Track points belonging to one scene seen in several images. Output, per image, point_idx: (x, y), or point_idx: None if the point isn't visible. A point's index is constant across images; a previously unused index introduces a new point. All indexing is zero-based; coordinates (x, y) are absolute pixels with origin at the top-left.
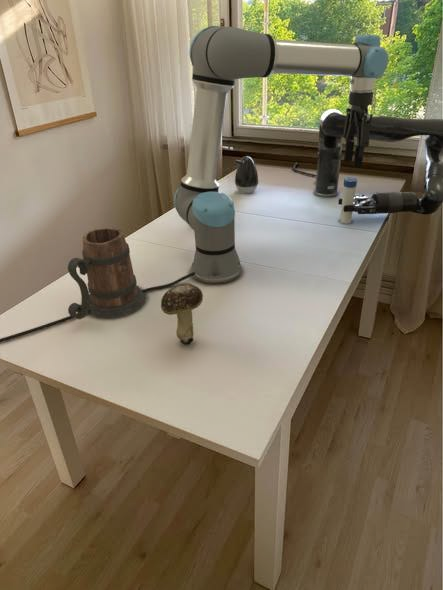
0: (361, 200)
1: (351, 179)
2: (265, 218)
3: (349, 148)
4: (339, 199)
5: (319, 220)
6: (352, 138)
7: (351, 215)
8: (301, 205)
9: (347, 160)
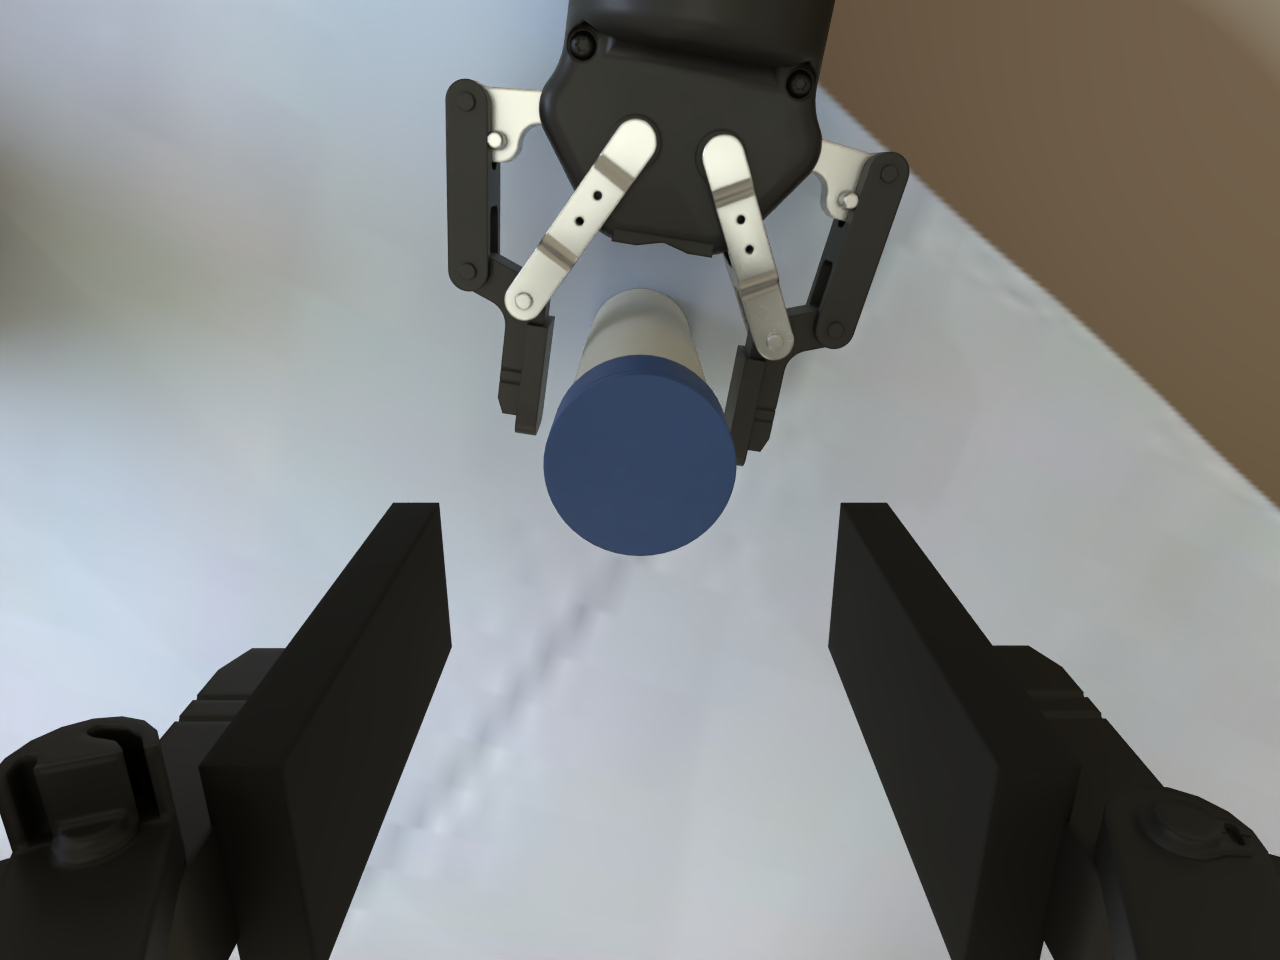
0: (642, 213)
1: (645, 458)
2: (425, 868)
3: (365, 753)
4: (534, 432)
5: (557, 535)
6: (169, 907)
7: (683, 319)
8: (192, 558)
9: (445, 607)
